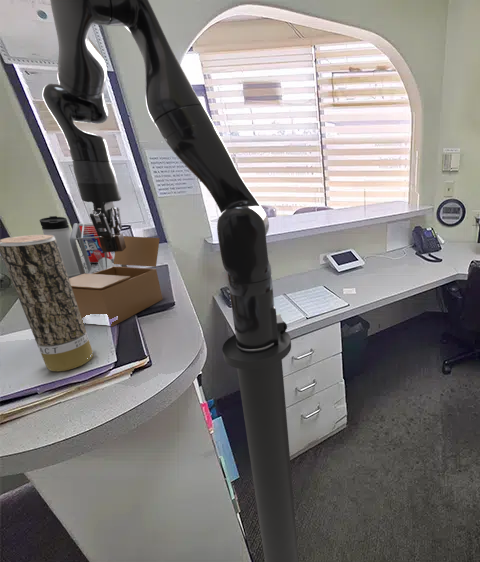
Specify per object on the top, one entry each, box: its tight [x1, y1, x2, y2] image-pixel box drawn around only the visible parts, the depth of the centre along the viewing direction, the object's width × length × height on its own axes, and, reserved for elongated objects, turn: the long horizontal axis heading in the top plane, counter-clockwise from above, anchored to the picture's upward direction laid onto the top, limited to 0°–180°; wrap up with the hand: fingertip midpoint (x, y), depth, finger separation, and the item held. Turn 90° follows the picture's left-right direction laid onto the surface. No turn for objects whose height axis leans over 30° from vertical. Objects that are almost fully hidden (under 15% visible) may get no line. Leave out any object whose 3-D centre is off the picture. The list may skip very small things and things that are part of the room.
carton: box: [69, 265, 164, 328], centre depth 81 cm, size 17×13×10 cm
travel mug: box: [39, 215, 80, 278], centre depth 102 cm, size 6×7×20 cm
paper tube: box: [0, 234, 94, 372], centre depth 57 cm, size 7×7×25 cm
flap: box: [113, 235, 161, 268], centre depth 88 cm, size 8×13×1 cm
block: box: [99, 232, 126, 252], centre depth 81 cm, size 4×4×4 cm
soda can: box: [79, 221, 114, 264], centre depth 119 cm, size 8×8×15 cm
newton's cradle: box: [70, 222, 128, 275], centre depth 99 cm, size 30×10×18 cm, turn 41°
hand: (115, 249), depth 81 cm, fingers closed on block, 4 cm apart
